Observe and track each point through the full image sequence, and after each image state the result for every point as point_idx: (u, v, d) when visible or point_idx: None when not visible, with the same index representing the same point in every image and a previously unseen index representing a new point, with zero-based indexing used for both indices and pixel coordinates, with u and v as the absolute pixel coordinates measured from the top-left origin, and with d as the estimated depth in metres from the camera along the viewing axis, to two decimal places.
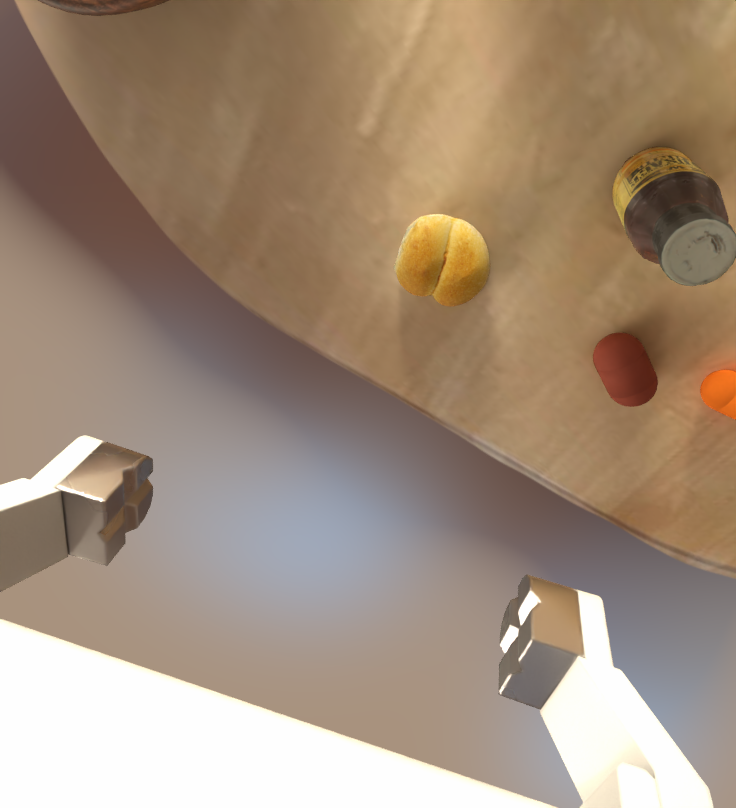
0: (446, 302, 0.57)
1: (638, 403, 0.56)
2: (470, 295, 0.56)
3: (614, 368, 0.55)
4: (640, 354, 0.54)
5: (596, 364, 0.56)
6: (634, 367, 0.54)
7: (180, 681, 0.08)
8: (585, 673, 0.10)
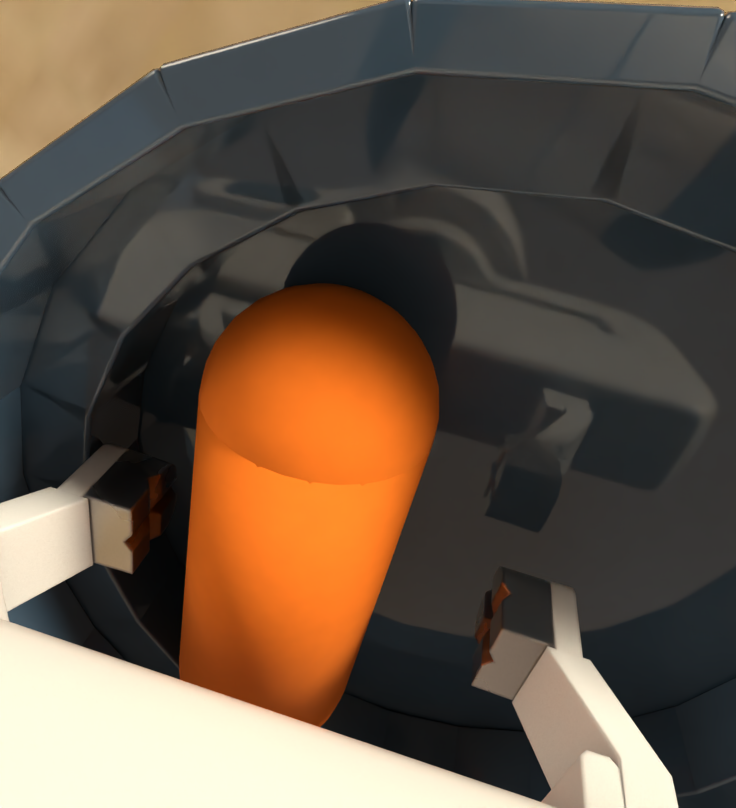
0: None
1: None
2: None
3: None
4: None
5: None
6: None
7: (180, 681, 0.08)
8: (554, 663, 0.10)
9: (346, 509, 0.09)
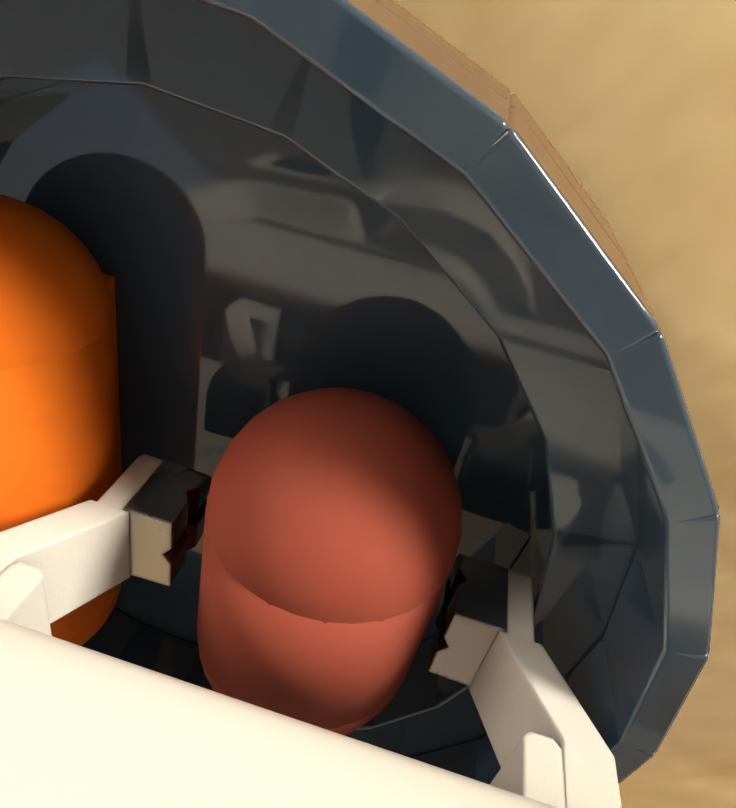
0: None
1: None
2: None
3: (258, 586, 0.09)
4: (423, 594, 0.10)
5: (213, 486, 0.10)
6: (351, 642, 0.09)
7: (180, 681, 0.08)
8: (505, 647, 0.10)
9: None
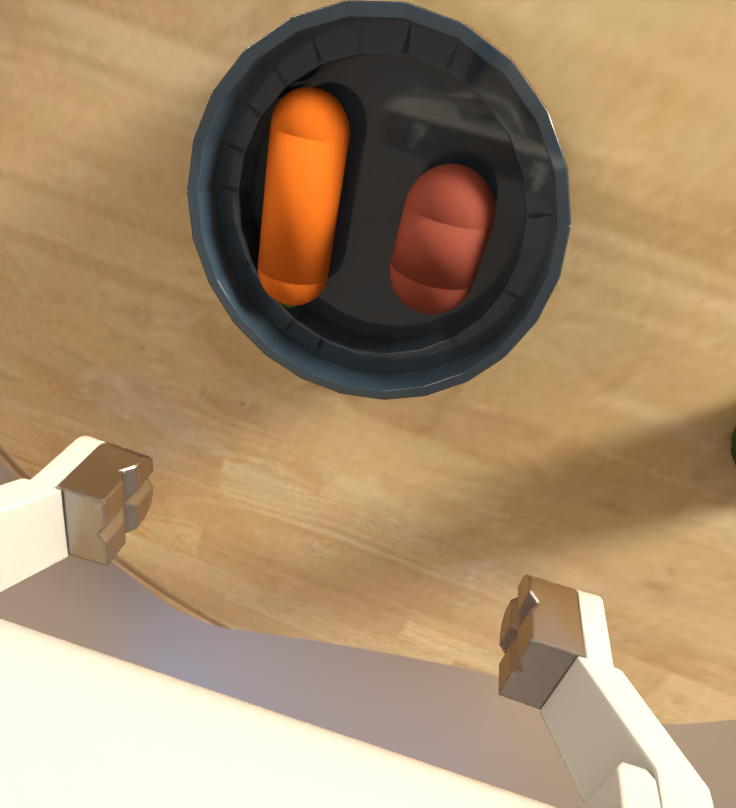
0: None
1: (419, 303, 0.31)
2: None
3: (432, 215, 0.28)
4: (482, 228, 0.29)
5: (411, 194, 0.29)
6: (459, 241, 0.29)
7: (180, 681, 0.08)
8: (585, 673, 0.10)
9: (319, 152, 0.28)
